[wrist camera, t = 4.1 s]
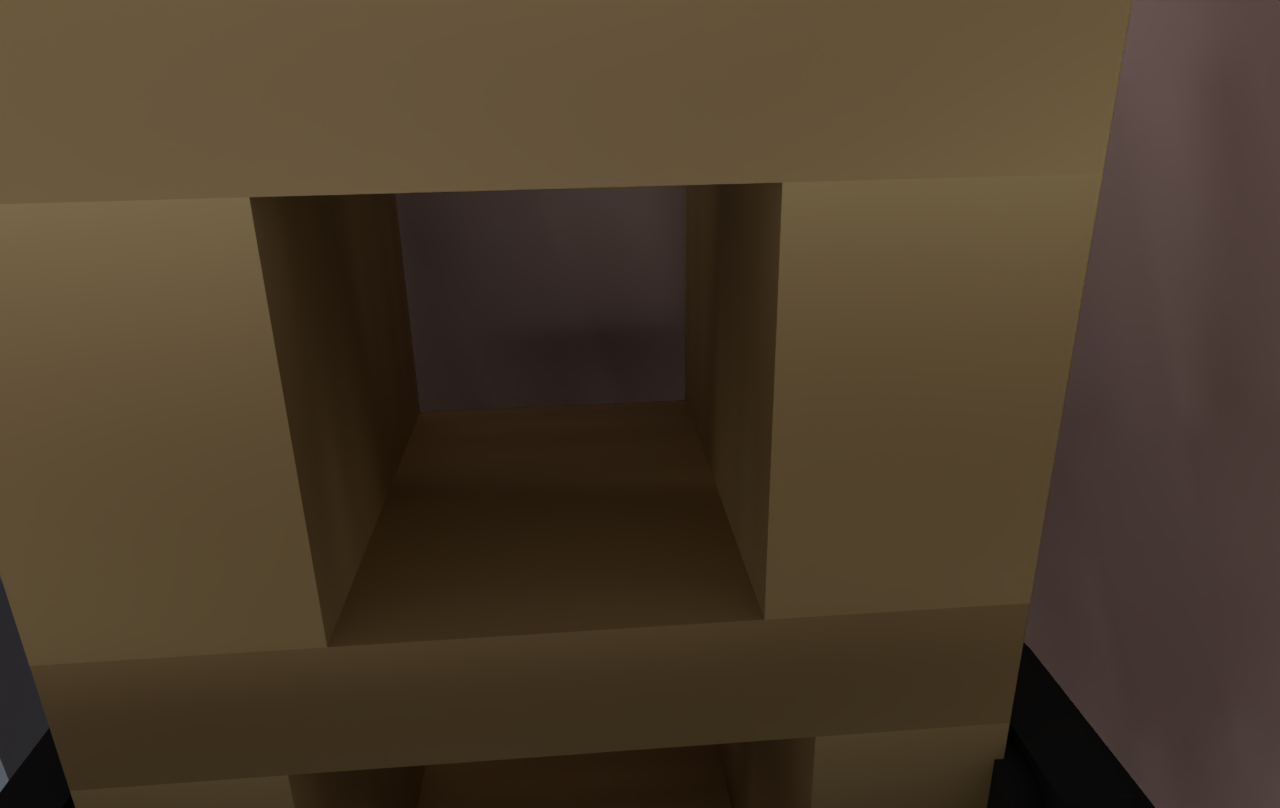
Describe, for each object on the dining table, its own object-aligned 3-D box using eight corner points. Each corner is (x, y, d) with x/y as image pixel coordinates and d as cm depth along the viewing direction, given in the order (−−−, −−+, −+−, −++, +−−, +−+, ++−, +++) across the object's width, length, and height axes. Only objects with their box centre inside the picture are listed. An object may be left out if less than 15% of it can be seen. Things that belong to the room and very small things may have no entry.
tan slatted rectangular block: (804, 1009, 13) (898, 1380, 10) (365, 1050, 13) (286, 1457, 9) (882, -38, 8) (1152, -119, 4) (157, -30, 8) (-220, -111, 4)
